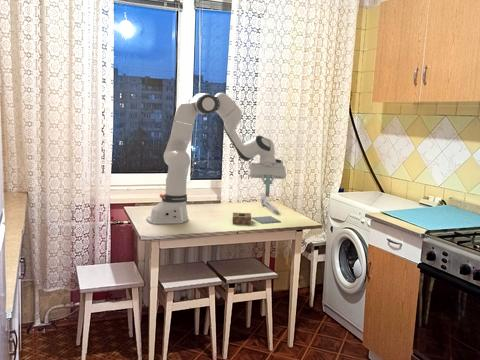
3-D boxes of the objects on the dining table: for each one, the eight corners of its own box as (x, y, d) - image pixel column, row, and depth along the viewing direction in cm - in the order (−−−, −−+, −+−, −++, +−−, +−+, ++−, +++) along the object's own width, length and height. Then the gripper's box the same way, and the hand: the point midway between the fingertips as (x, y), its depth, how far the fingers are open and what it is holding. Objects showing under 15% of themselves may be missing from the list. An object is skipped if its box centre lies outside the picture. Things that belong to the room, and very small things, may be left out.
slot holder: (232, 224, 249) (232, 216, 248) (232, 219, 259) (232, 212, 258) (251, 224, 249) (251, 217, 249) (250, 220, 259) (250, 213, 259)
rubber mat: (261, 223, 252) (261, 222, 252) (251, 218, 263) (251, 217, 263) (280, 222, 257) (280, 221, 257) (270, 217, 268) (270, 216, 268)
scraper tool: (265, 196, 257) (266, 175, 255) (265, 195, 260) (266, 174, 258) (269, 196, 257) (270, 175, 255) (268, 195, 260) (269, 174, 258)
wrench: (275, 219, 275) (258, 203, 302) (278, 219, 275) (261, 203, 303) (276, 206, 273) (259, 191, 300) (279, 206, 273) (262, 191, 301)
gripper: (249, 159, 262) (249, 179, 253) (285, 161, 262) (286, 180, 254) (248, 166, 267) (248, 186, 259) (284, 167, 267) (285, 187, 259)
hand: (267, 183), depth 256 cm, fingers closed on scraper tool, 2 cm apart
